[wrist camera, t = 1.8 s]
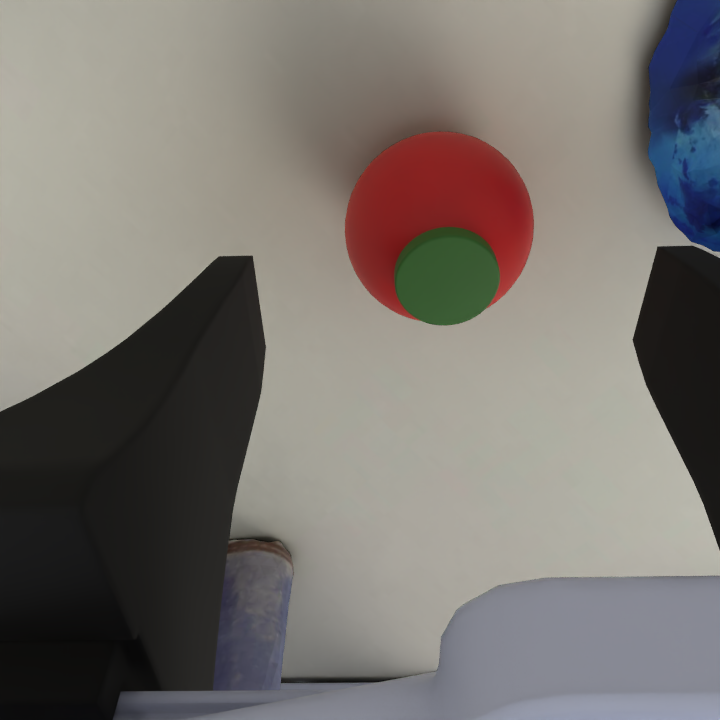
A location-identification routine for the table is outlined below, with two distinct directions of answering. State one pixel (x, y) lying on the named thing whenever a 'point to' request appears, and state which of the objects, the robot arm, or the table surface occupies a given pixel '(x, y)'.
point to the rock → (688, 119)
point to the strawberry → (439, 227)
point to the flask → (253, 616)
